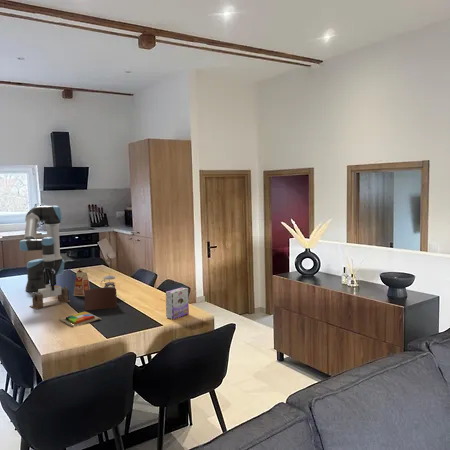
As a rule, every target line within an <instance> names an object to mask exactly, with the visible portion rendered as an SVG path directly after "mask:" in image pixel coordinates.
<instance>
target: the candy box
mask: <svg viewBox="0 0 450 450" xmlns="http://www.w3.org/2000/svg"><path fill="white" fill-rule="evenodd" d="M189 305H190V303H189V288H187V287H179V288H175V289H172V290H168V291H165V307H166V308H165V309H166V310H165V312H166V313H165V318H166V317H167V318H166V319H168V318H170V319H169V320H171V319H174V320H176V319H175V318H177V319H179V318H178V317H180V318H182V317H184V315H185V316H188V315H189V314H190V312H189V310H190V309H189ZM187 314H188V315H187ZM181 316H182V317H181Z"/></svg>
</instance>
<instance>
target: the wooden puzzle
mask: <svg viewBox="0 0 450 450" xmlns="http://www.w3.org/2000/svg"><path fill="white" fill-rule="evenodd" d="M58 320H59V321H61V322H63V323H64V322H65V324H67V325H68V326H69V327H72V326H75V327H78V326H77V325H79V326H82V325H81V324H83V325H86V324H89V323H92V322H95V321H99V320H100V321H102V318H101V317H98V316H96V315H94V314H93V313H90V312H88V311H82V312H78V313H75V314H73V315H68V316H65V318H62V317H61V318H60V317H59V319H58ZM71 323H72V324H74V325H72V324H71ZM85 323H86V324H85Z"/></svg>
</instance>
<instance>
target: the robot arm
mask: <svg viewBox="0 0 450 450" xmlns="http://www.w3.org/2000/svg"><path fill="white" fill-rule="evenodd" d="M24 219H25V222H26V223H25V228H24V230H25V231H24V236H23V239H21V240H20V241H19V250H20V251H21V252H29V251H30V252H31V251H33V252H34V251H41V253H42V257H41V258H37V259H32V260H29V261H28V262H27V263H26V270H27V282H26V285H25V291H26V292H27V293H28V292H29V293H32V292H34V293H35V292H36V293H38V289H43V288H49V287H50V296H52V295H55V292H54V286H56V285H57V276H60V275H63V274H64V268H65V259H63V256H61V250H60V249H61V247H60V243H61V242H60V227H59V225H60V224H61V222H62V221H63V214H62V209H61V207H60V205H37V206H34V207H33V208H31V209H30V210H29V211H27V212H26V215H25V218H24ZM40 222H43V223H44V225H45V226H46V237H45V236H44V237H42V238H41V239H40V238H39V239H37V231H38V225H39V223H40Z"/></svg>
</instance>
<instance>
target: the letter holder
mask: <svg viewBox="0 0 450 450" xmlns="http://www.w3.org/2000/svg"><path fill="white" fill-rule="evenodd" d="M84 295H85V296H84V310H85V312H88V311H97V310H106V309H107V310H108V309H117V307H118V304H117V303H118V301H117V297H116V295H117V289H116V287H115V288H104V287H102V288H101V287H95V288H90V289H89V290H85V292H84Z"/></svg>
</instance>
